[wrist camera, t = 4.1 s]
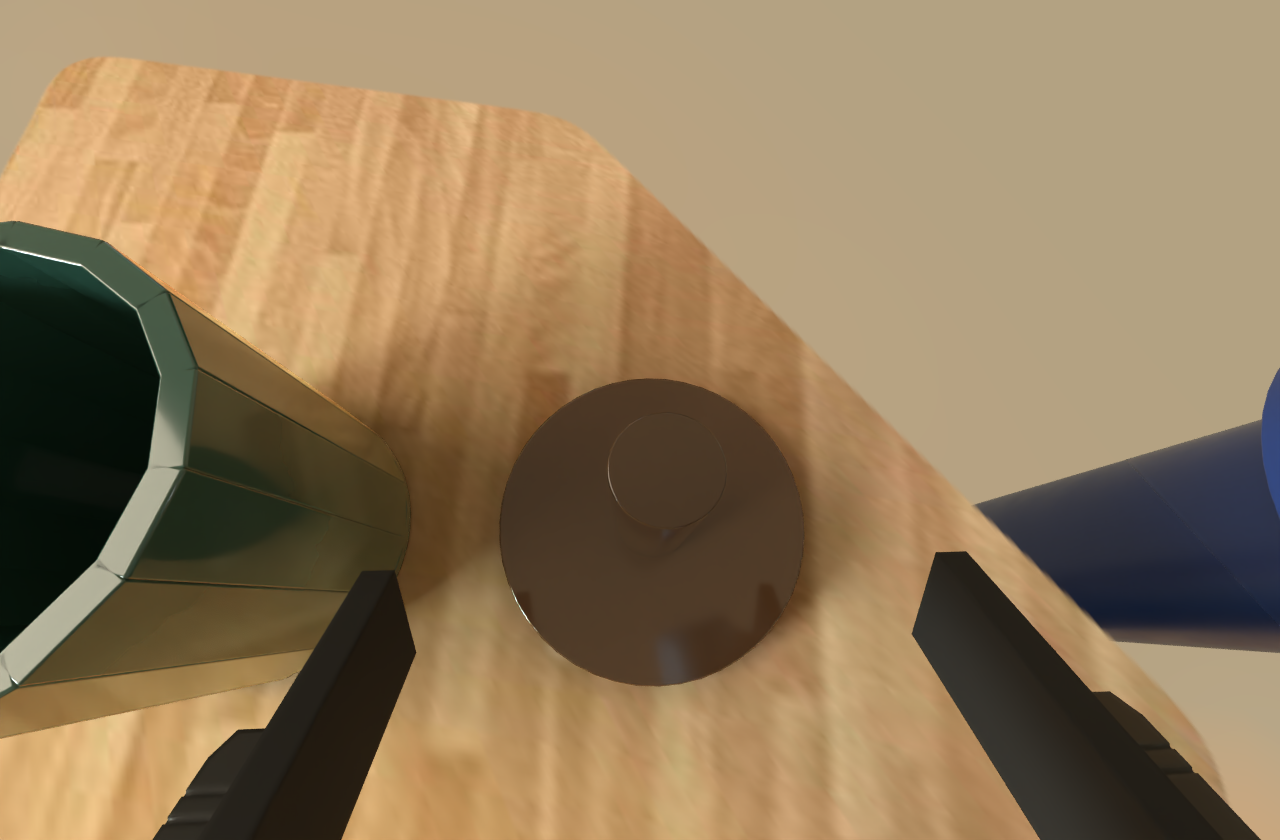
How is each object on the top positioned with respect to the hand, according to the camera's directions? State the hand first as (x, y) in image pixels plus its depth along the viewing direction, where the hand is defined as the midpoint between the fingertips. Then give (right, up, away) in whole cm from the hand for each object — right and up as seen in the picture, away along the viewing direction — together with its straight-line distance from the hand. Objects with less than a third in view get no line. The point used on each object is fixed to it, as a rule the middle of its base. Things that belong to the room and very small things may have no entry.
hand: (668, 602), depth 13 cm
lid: (0, 0, +9) cm, 9 cm away
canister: (-16, 0, +10) cm, 19 cm away
